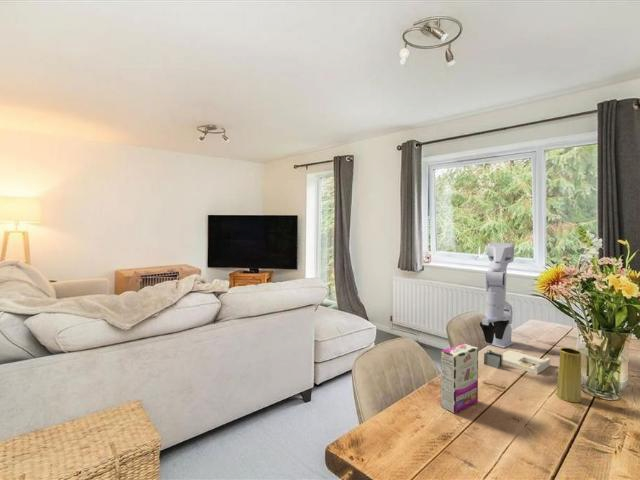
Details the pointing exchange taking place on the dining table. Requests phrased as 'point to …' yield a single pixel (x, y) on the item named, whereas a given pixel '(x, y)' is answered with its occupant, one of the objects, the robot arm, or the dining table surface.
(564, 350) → the vase
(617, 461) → the dining table surface
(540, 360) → the frame
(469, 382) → the candy bar box
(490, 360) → the clip
